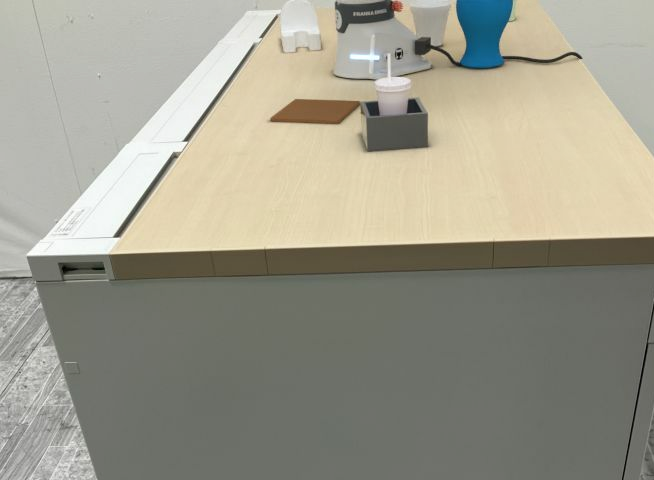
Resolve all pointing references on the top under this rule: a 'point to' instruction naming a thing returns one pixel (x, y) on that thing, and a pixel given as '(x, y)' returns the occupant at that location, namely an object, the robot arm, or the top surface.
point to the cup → (431, 19)
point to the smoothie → (392, 93)
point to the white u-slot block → (299, 26)
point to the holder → (394, 127)
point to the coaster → (315, 111)
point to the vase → (483, 30)
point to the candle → (513, 11)
